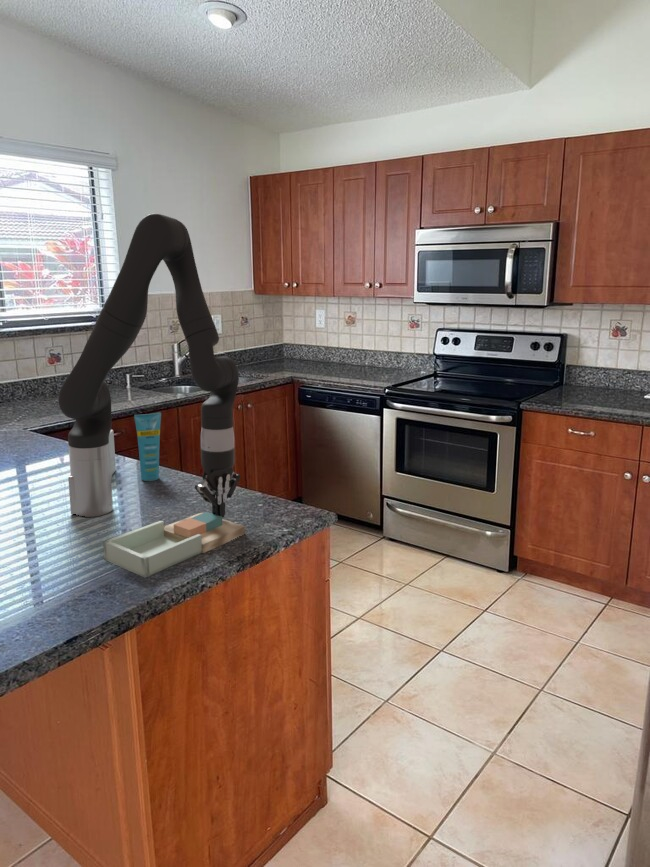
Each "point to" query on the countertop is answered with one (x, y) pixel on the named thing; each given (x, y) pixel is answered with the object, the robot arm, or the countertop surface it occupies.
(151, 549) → the box
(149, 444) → the tube
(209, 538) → the maple plate
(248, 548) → the countertop surface
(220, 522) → the teal square block
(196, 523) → the terracotta tile
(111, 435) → the supplement box
